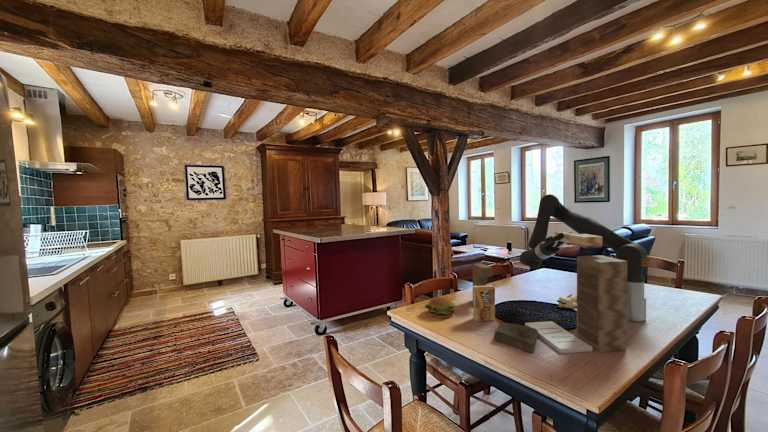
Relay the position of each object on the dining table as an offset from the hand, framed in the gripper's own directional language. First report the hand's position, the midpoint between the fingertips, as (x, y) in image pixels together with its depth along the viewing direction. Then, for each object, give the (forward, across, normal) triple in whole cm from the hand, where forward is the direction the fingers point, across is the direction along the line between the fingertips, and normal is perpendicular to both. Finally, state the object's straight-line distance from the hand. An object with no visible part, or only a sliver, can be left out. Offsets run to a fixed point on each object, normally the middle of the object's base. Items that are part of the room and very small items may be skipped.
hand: (567, 234), depth 135 cm
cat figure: (-38, +21, +24) cm, 49 cm away
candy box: (-28, -33, +29) cm, 52 cm away
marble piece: (-9, -29, +40) cm, 50 cm away
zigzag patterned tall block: (-3, 0, +43) cm, 43 cm away
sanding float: (+2, 0, +5) cm, 6 cm away
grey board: (-9, -13, +40) cm, 43 cm away
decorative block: (-47, -25, +18) cm, 56 cm away
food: (-37, -51, +24) cm, 67 cm away
